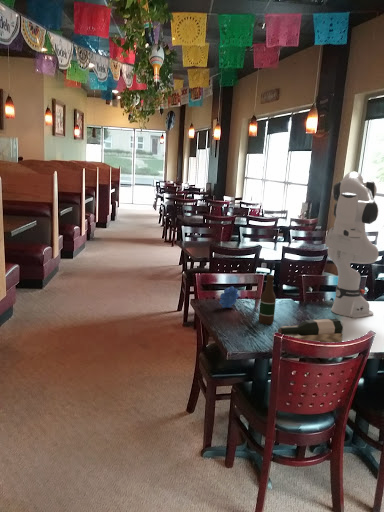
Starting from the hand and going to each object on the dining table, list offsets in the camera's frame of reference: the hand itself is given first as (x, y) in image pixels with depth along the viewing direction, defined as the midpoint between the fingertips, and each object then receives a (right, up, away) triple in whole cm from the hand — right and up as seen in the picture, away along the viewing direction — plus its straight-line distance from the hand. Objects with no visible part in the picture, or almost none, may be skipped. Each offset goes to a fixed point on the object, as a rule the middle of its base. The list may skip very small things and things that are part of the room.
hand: (340, 260), depth 189 cm
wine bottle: (+1, -31, +7) cm, 32 cm away
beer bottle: (-29, -31, +21) cm, 48 cm away
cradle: (-12, -35, +4) cm, 38 cm away
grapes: (-47, -26, +41) cm, 67 cm away
